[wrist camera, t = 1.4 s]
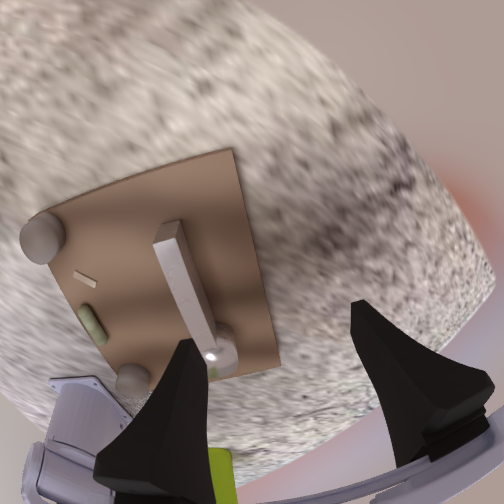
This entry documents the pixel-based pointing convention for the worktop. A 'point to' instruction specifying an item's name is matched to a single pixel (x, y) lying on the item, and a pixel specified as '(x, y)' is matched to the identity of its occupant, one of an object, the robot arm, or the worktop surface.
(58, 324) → the worktop surface
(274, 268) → the worktop surface
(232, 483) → the soap dispenser
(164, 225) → the lever handle
